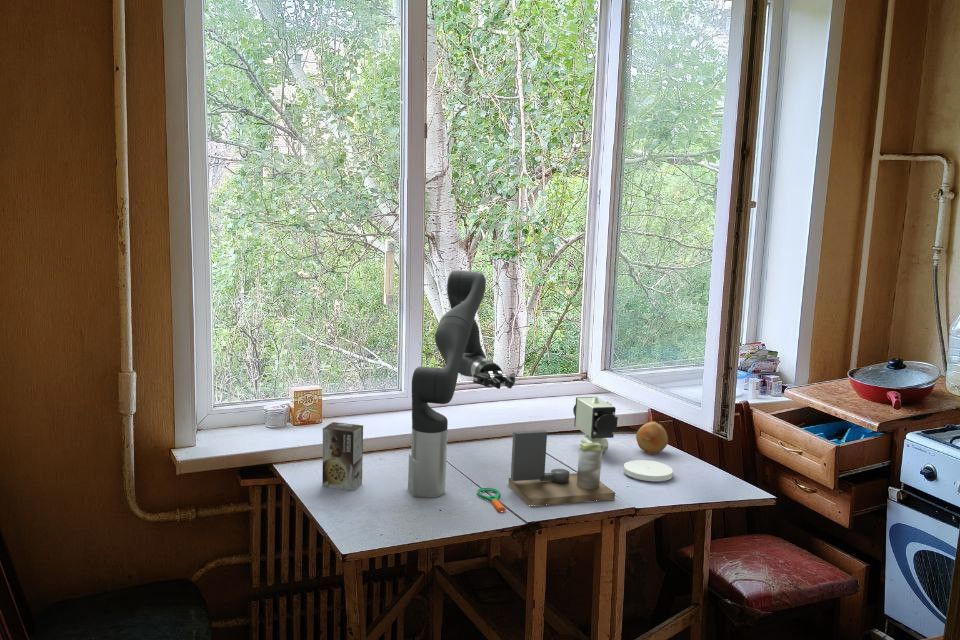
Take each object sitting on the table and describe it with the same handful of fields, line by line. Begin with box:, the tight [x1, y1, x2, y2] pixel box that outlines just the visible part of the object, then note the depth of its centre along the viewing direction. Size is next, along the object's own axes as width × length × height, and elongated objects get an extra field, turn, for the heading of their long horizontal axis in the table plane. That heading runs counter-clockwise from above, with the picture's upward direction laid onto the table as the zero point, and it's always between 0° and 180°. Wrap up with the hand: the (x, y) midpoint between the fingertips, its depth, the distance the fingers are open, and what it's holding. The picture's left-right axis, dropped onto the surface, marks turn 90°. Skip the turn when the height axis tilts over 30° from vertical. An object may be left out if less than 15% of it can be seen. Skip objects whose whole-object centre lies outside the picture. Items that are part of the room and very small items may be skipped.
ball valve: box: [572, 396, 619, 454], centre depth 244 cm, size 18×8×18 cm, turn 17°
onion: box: [635, 421, 669, 455], centre depth 247 cm, size 10×10×10 cm
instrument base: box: [507, 442, 616, 506], centre depth 208 cm, size 24×16×14 cm, turn 108°
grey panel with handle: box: [510, 429, 571, 484], centre depth 209 cm, size 16×5×14 cm, turn 108°
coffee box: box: [321, 421, 364, 491], centre depth 205 cm, size 9×6×16 cm
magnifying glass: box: [476, 487, 506, 513], centre depth 200 cm, size 15×6×2 cm, turn 16°
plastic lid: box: [623, 459, 674, 482], centre depth 226 cm, size 14×14×2 cm
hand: (505, 385), depth 221 cm, fingers open, 3 cm apart
